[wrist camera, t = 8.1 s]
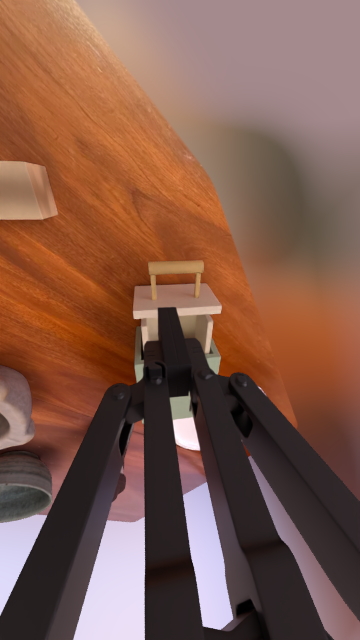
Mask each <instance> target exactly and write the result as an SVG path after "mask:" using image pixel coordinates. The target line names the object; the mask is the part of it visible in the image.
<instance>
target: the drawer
mask: <svg viewBox="0 0 360 640" xmlns="http://www.w3.org/2000/svg"><path fill="white" fill-rule="evenodd" d="M148 269H149V275H151V286H135V290H134V303H133V317H134V319H141V331H142V341H143V351H144V345H145V343H146V341H156V340H158V308H159V307H176V309H177V313H178V316H179V320H180V323H181V327H182V330H183V334H184V338H196V339H197V340H198V341H199V342H200V343H201V346H202V348H203V351H204V354H209V352H210V344H211V336H212V328H213V320H212V318H211V317H210V315H209V314H220V313H221V308H222V306H221V304H220V303H219V301H218V300H217V298H216V297H215V295H214V294H213V292H212V291H211V289H210V288H209V286H208V285H207V283H200V276H201V273H203V270H204V263H203V261H202V260H194V261H157V262H148ZM184 273H196V274H195V284H176V285H156V280H155V275H156V274H184Z"/></svg>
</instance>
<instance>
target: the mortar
mask: <svg viewBox="0 0 360 640" xmlns="http://www.w3.org/2000/svg"><path fill="white" fill-rule="evenodd" d="M31 412H32V399H31V392H30V387H29V384H28V382H27V380H26V378H25V377H24V376H23V375H22V374H21V373H19V372H18V371H16V370H14V369H12V368H9V367H6V366H2V365H0V449H5V448H8V447H11V446H18V445H22V444H25V443H27V442H29V441H30V440H31V439H32V438H33V437H34V435H35V425H34V421H33V420H32V419H31Z"/></svg>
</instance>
